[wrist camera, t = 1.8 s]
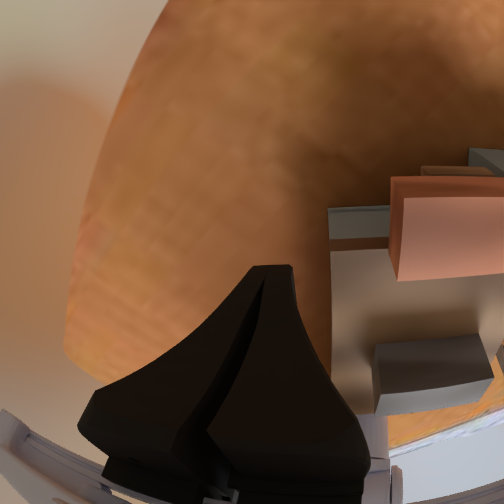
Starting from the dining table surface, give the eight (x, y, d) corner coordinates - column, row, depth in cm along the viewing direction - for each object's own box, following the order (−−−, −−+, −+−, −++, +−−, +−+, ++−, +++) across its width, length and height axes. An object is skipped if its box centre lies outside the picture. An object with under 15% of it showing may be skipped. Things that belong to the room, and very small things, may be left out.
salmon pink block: (511, 245, 13) (530, 270, 11) (388, 251, 15) (397, 281, 13) (525, 178, 11) (549, 198, 9) (390, 176, 13) (404, 198, 11)
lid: (463, 384, 23) (473, 435, 18) (330, 398, 27) (327, 453, 22) (537, 166, 12) (596, 212, 7) (324, 164, 15) (329, 217, 10)
